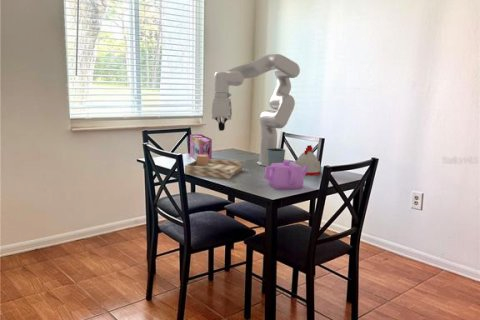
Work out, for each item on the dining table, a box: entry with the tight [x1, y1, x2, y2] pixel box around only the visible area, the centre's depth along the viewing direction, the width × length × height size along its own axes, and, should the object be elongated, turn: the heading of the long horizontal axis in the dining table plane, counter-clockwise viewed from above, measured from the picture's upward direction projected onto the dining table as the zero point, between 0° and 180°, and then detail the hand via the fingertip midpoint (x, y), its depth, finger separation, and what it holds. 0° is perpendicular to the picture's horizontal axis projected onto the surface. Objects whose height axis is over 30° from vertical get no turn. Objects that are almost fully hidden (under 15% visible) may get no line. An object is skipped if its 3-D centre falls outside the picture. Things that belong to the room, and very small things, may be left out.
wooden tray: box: [184, 158, 243, 179], centre depth 224 cm, size 24×22×4 cm
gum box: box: [189, 133, 213, 161], centre depth 259 cm, size 24×8×14 cm, turn 21°
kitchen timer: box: [294, 145, 321, 177], centre depth 230 cm, size 14×14×15 cm
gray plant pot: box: [267, 147, 286, 166], centre depth 231 cm, size 10×10×12 cm
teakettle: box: [263, 159, 309, 191], centre depth 199 cm, size 17×17×12 cm
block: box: [196, 154, 209, 166], centre depth 230 cm, size 5×5×5 cm
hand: (221, 130), depth 227 cm, fingers closed
